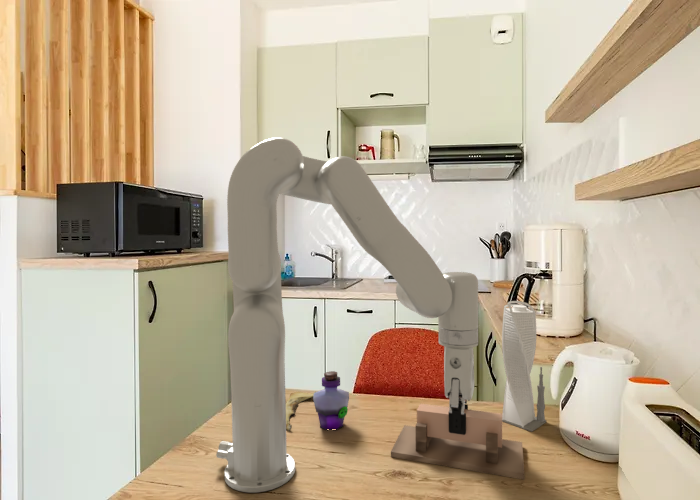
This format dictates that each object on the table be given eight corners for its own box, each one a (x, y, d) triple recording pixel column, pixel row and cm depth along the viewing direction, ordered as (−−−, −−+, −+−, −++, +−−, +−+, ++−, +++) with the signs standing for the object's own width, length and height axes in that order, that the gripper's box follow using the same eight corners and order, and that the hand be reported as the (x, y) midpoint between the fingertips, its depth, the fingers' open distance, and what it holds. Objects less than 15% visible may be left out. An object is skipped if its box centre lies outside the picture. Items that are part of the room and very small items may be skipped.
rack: (390, 456, 84) (390, 426, 84) (404, 429, 95) (404, 402, 95) (524, 479, 76) (524, 445, 76) (522, 446, 87) (522, 417, 87)
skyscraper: (528, 434, 93) (529, 303, 91) (494, 421, 99) (494, 299, 98) (546, 422, 98) (547, 299, 97) (512, 411, 104) (513, 295, 103)
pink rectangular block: (416, 434, 87) (416, 410, 86) (420, 427, 90) (420, 403, 90) (502, 447, 81) (502, 421, 81) (502, 439, 84) (502, 413, 84)
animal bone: (292, 390, 117) (328, 387, 115) (293, 398, 117) (329, 395, 115) (261, 428, 96) (303, 426, 94) (262, 438, 96) (305, 436, 94)
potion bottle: (342, 436, 92) (341, 381, 92) (305, 430, 95) (305, 376, 95) (356, 420, 101) (355, 368, 100) (321, 414, 104) (321, 365, 103)
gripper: (475, 348, 76) (475, 451, 76) (480, 327, 91) (480, 413, 92) (431, 345, 78) (432, 445, 79) (444, 325, 94) (444, 409, 95)
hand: (458, 427), depth 85 cm, fingers closed on pink rectangular block, 3 cm apart
